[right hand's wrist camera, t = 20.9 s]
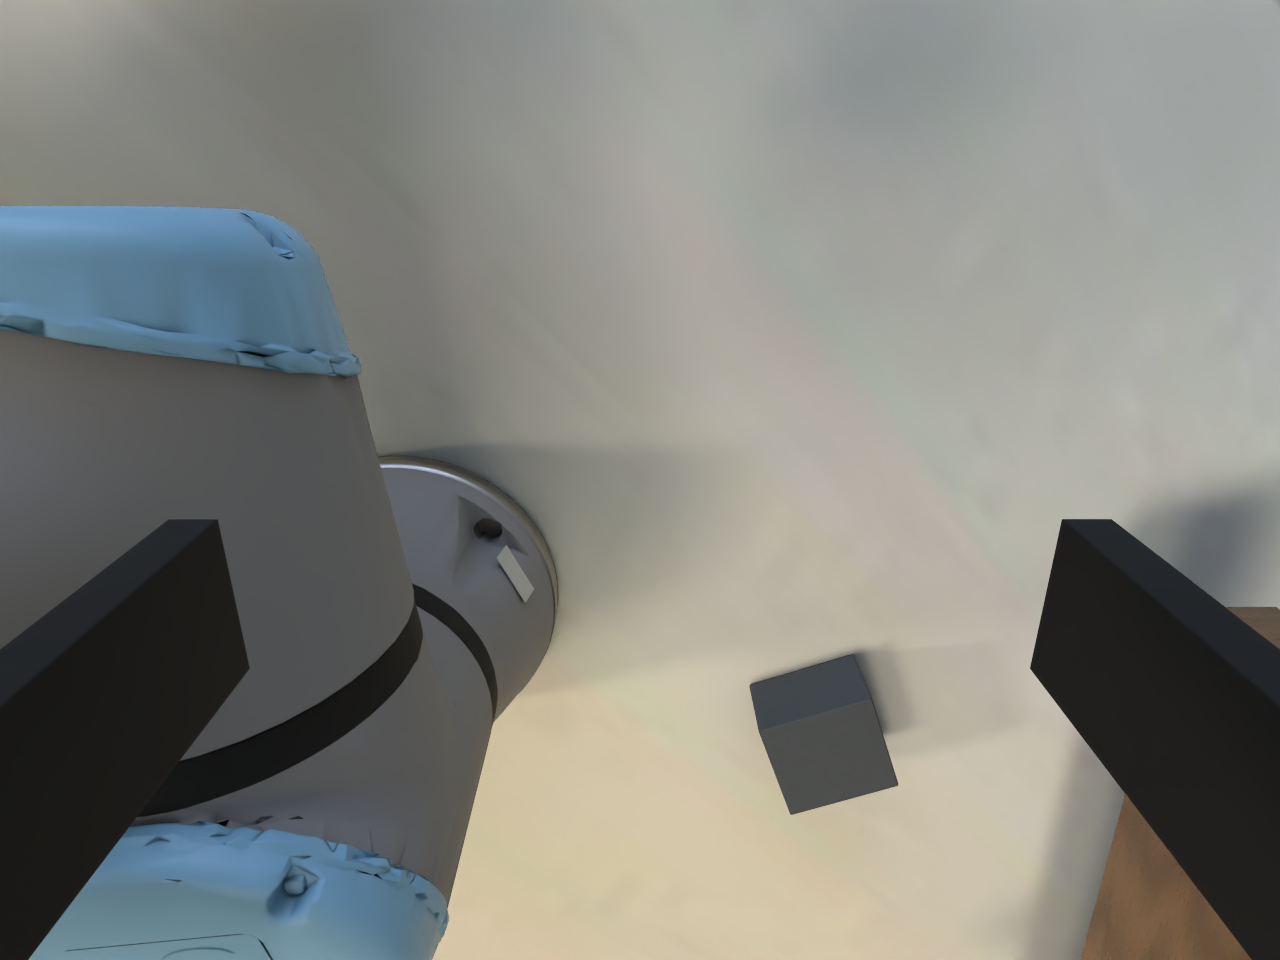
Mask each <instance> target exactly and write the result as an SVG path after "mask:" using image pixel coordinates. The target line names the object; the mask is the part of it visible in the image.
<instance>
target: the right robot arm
mask: <svg viewBox="0 0 1280 960" xmlns="http://www.w3.org/2000/svg"><path fill="white" fill-rule="evenodd" d="M359 374H362V373H361V365H360V362H359V359H358V358H357V357H356V356H355V355H353V354H352V353H351V352H350V349H349V346H348V343H347V340H346V337H345V334H344V331H343V328H342V325H341V322H340V319H339V316H338V313H337V310H336V307H335V304H334V301H333V298H332V295H331V292H330V289H329V286H328V283H327V280H326V277H325V274H324V270H323V267H322V264H321V262H320V260H319V258H318V256H317V254H316V253H315V251H314V249H313V248H312V246H311V245H310V244H309V243H308V241H307V240H306V239H305V238H304V237H303V236H302V235H301V234H300V233H299V232H298V231H296V230H295V229H293V228H292V227H291V226H289V225H288V224H286V223H284V222H283V221H281V220H279V219H277V218H275V217H272V216H269V215H266V214H263V213H259V212H256V211H250V210H242V209H226V208H207V207H169V206H0V960H432V959H433V956H434V953H435V951H436V948H437V946H438V943H439V942H440V941H441V938H442V937H443V936H444V933H445V930H446V927H447V924H448V921H449V915H448V911H447V908H448V904H449V900H450V896H451V892H452V888H453V884H454V880H455V876H456V872H457V868H458V864H459V860H460V856H461V852H462V847H463V843H464V839H465V835H466V831H467V827H468V823H469V819H470V815H471V811H472V807H473V803H474V799H475V795H476V791H477V787H478V783H479V779H480V775H481V771H482V767H483V762H484V758H485V754H486V750H487V746H488V742H489V738H490V734H491V729H492V725H493V722H494V721H495V720H496V719H497V718H498V717H499V716H500V714H501V713H502V712H503V711H504V710H505V709H506V707H507V706H508V705H509V704H510V703H511V702H512V700H513V699H514V698H515V697H516V695H517V694H518V693H519V692H520V691H521V690H522V689H523V688H524V687H525V686H526V685H527V683H528V682H529V681H530V680H531V678H532V677H533V675H534V674H535V672H536V670H537V669H538V667H539V665H540V663H541V662H542V660H543V658H544V656H545V654H546V652H547V649H548V646H549V644H550V641H551V637H552V633H553V629H554V623H555V618H556V611H557V603H558V588H557V578H556V573H555V568H554V564H553V561H552V558H551V555H550V552H549V550H548V548H547V546H546V543H545V541H544V539H543V538H542V536H541V534H540V533H539V531H538V529H537V528H536V526H535V525H534V523H533V522H532V521H531V519H530V518H529V517H528V516H527V514H526V513H525V512H524V511H523V510H522V509H521V508H520V507H519V506H518V505H517V504H516V503H515V502H514V501H513V500H512V499H511V498H510V497H509V496H507V495H506V494H505V493H504V492H502V491H501V490H500V489H499V488H497V487H496V486H494V485H493V484H491V483H490V482H488V481H486V480H485V479H483V478H481V477H479V476H477V475H475V474H474V473H471V472H469V471H467V470H464V469H462V468H460V467H457V466H454V465H451V464H448V463H445V462H441V461H436V460H432V459H427V458H420V457H409V456H388V457H378V455H377V452H376V448H375V444H374V441H373V437H372V433H371V429H370V425H369V421H368V417H367V413H366V409H365V405H364V401H363V397H362V393H361V389H360V384H359V380H358V376H357V375H359ZM1030 669H1031V670H1032V672H1033V673H1034V674H1035V676H1036V677H1037V678H1038V679H1039V681H1040V682H1041V683H1042V685H1043V686H1044V687H1045V689H1046V690H1047V691H1048V693H1049V694H1050V695H1051V697H1052V698H1053V699H1054V700H1055V702H1056V703H1057V704H1058V706H1059V707H1060V708H1061V710H1062V711H1063V712H1064V714H1065V715H1066V716H1067V718H1068V719H1069V720H1070V722H1071V723H1072V724H1073V725H1074V727H1075V728H1076V729H1077V731H1078V732H1079V733H1080V735H1081V736H1082V737H1083V739H1084V740H1085V741H1086V743H1087V744H1088V745H1089V747H1090V748H1091V749H1092V750H1093V752H1094V753H1095V754H1096V756H1097V757H1098V758H1099V760H1100V761H1101V762H1102V764H1103V765H1104V766H1105V768H1106V769H1107V770H1108V771H1109V773H1110V774H1111V775H1112V777H1113V778H1114V779H1115V781H1116V782H1117V783H1118V785H1119V786H1120V787H1121V789H1122V790H1123V791H1124V793H1125V794H1126V795H1127V796H1128V798H1129V799H1130V800H1131V802H1132V803H1133V804H1134V806H1135V807H1136V808H1137V810H1138V811H1139V812H1140V814H1141V815H1142V816H1143V818H1144V819H1145V820H1146V821H1147V823H1148V824H1149V825H1150V827H1151V828H1152V829H1153V831H1154V832H1155V833H1156V835H1157V836H1158V837H1159V839H1160V840H1161V841H1162V842H1163V844H1164V845H1165V846H1166V848H1167V849H1168V850H1169V852H1170V853H1171V854H1172V856H1173V857H1174V858H1175V860H1176V861H1177V862H1178V864H1179V865H1180V866H1181V867H1182V869H1183V870H1184V871H1185V873H1186V874H1187V875H1188V877H1189V878H1190V879H1191V881H1192V882H1193V883H1194V885H1195V886H1196V887H1197V889H1198V890H1199V891H1200V892H1201V894H1202V895H1203V896H1204V898H1205V899H1206V900H1207V902H1208V903H1209V904H1210V906H1211V907H1212V908H1213V910H1214V911H1215V912H1216V913H1217V915H1218V916H1219V917H1220V919H1221V920H1222V921H1223V923H1224V924H1225V925H1226V927H1227V928H1228V929H1229V931H1230V932H1231V933H1232V935H1233V936H1234V937H1235V938H1236V940H1237V941H1238V942H1239V944H1240V945H1241V946H1242V948H1243V949H1244V950H1245V952H1246V953H1247V954H1248V956H1249V957H1250V958H1251V960H1280V649H1279V648H1277V647H1276V646H1275V645H1273V644H1272V643H1271V642H1270V641H1268V640H1267V639H1266V638H1264V637H1263V636H1262V635H1261V634H1259V633H1258V632H1257V631H1255V630H1254V629H1253V628H1251V627H1250V626H1249V625H1248V624H1246V623H1245V622H1244V621H1242V620H1241V619H1240V618H1239V617H1237V616H1236V615H1235V614H1233V613H1232V612H1231V611H1229V610H1228V609H1227V608H1226V607H1224V606H1223V605H1222V604H1220V603H1219V602H1218V601H1216V600H1215V599H1214V598H1213V597H1211V596H1210V595H1209V594H1207V593H1206V592H1205V591H1204V590H1202V589H1201V588H1200V587H1198V586H1197V585H1196V584H1194V583H1193V582H1192V581H1191V580H1189V579H1188V578H1187V577H1185V576H1184V575H1183V574H1182V573H1180V572H1179V571H1178V570H1176V569H1175V568H1174V567H1172V566H1171V565H1170V564H1169V563H1167V562H1166V561H1165V560H1163V559H1162V558H1161V557H1159V556H1158V555H1157V554H1156V553H1154V552H1153V551H1152V550H1150V549H1149V548H1148V547H1147V546H1145V545H1144V544H1143V543H1141V542H1140V541H1139V540H1137V539H1136V538H1135V537H1134V536H1132V535H1131V534H1130V533H1128V532H1127V531H1126V530H1125V529H1123V528H1122V527H1121V526H1119V525H1118V524H1117V523H1115V522H1114V521H1113V520H1112V519H1062V522H1061V527H1060V532H1059V536H1058V541H1057V546H1056V550H1055V555H1054V560H1053V564H1052V569H1051V574H1050V578H1049V583H1048V588H1047V592H1046V597H1045V602H1044V606H1043V611H1042V616H1041V620H1040V625H1039V629H1038V634H1037V639H1036V643H1035V648H1034V653H1033V657H1032V662H1031V667H1030Z"/></svg>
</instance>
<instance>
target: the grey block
mask: <svg viewBox="0 0 1280 960" xmlns="http://www.w3.org/2000/svg"><path fill="white" fill-rule="evenodd" d="M750 691H751V695H752V700H753V705H754V710H755V715H756V720H757V724H758V729H759V733H760V736H761V738H762V741H763V744H764V746H765V749H766V751H767V754H768V757H769V759H770V762H771V765H772V767H773V770H774V772H775V775H776V778H777V780H778V783H779V786H780V788H781V791H782V793H783V796H784V799H785V801H786V804H787V807H788V809H789V812H790V814H791V815H793V814H796V813H800V812H804V811H807V810H811V809H815V808H818V807H822V806H825V805H829V804H833V803H836V802H840V801H844V800H847V799H851V798H855V797H858V796H862V795H866V794H869V793H873V792H877V791H880V790H884V789H887V788H891V787H895V786H898V782H897V779H896V775H895V772H894V769H893V766H892V762H891V759H890V756H889V753H888V750H887V746H886V743H885V740H884V737H883V733H882V730H881V727H880V724H879V721H878V717H877V714H876V711H875V708H874V705H873V701H872V698H871V696H870V694H869V691H868V689H867V687H866V684H865V682H864V680H863V677H862V675H861V673H860V670H859V668H858V666H857V663H856V661H855V658H854V656H853V655H849V656H846V657H842V658H839V659H836V660H832V661H829V662H825V663H822V664H819V665H815V666H812V667H809V668H805V669H802V670H799V671H795V672H792V673H789V674H785V675H782V676H778V677H775V678H772V679H768V680H765V681H762V682H758V683H755V684H752V685H750Z"/></svg>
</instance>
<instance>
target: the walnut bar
mask: <svg viewBox="0 0 1280 960" xmlns="http://www.w3.org/2000/svg"><path fill="white" fill-rule="evenodd" d="M1226 608H1227V609H1228V610H1229V611H1231V612H1232V613H1233V614H1235V615H1236V616H1237V617H1239V618H1240V619H1241V620H1242V621H1244V622H1245V623H1246V624H1248V625H1249V626H1250V627H1251V628H1253V629H1254V630H1255V631H1257V632H1258V633H1259V634H1261V635H1262V636H1263V637H1264V638H1266V639H1267V640H1268V641H1270V642H1271V643H1272V644H1273V645H1275V646H1276V647H1277V648H1279V649H1280V610H1279V609H1278V608H1276V607H1226ZM1081 960H1251V958H1250V957H1249V956H1248V954H1247V953H1246V952H1245V950H1244V949H1243V948H1242V946H1241V945H1240V944H1239V942H1238V941H1237V940H1236V938H1235V937H1234V936H1233V935H1232V933H1231V932H1230V931H1229V929H1228V928H1227V927H1226V925H1225V924H1224V923H1223V921H1222V920H1221V919H1220V917H1219V916H1218V915H1217V913H1216V912H1215V911H1214V910H1213V908H1212V907H1211V906H1210V904H1209V903H1208V902H1207V900H1206V899H1205V898H1204V896H1203V895H1202V894H1201V892H1200V891H1199V890H1198V889H1197V887H1196V886H1195V885H1194V883H1193V882H1192V881H1191V879H1190V878H1189V877H1188V875H1187V874H1186V873H1185V871H1184V870H1183V869H1182V867H1181V866H1180V865H1179V864H1178V862H1177V861H1176V860H1175V858H1174V857H1173V856H1172V854H1171V853H1170V852H1169V850H1168V849H1167V848H1166V846H1165V845H1164V844H1163V842H1162V841H1161V840H1160V839H1159V837H1158V836H1157V835H1156V833H1155V832H1154V831H1153V829H1152V828H1151V827H1150V825H1149V824H1148V823H1147V821H1146V820H1145V819H1144V818H1143V816H1142V815H1141V814H1140V812H1139V811H1138V810H1137V808H1136V807H1135V806H1134V804H1133V803H1132V802H1131V800H1130V799H1129V798H1128V796H1127V795H1126V794H1125V796H1124V800H1123V804H1122V807H1121V811H1120V815H1119V819H1118V822H1117V826H1116V830H1115V833H1114V837H1113V841H1112V845H1111V848H1110V852H1109V856H1108V860H1107V863H1106V867H1105V871H1104V874H1103V878H1102V882H1101V886H1100V889H1099V893H1098V897H1097V901H1096V904H1095V908H1094V912H1093V915H1092V919H1091V923H1090V927H1089V930H1088V934H1087V938H1086V941H1085V945H1084V949H1083V953H1082V956H1081Z"/></svg>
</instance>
